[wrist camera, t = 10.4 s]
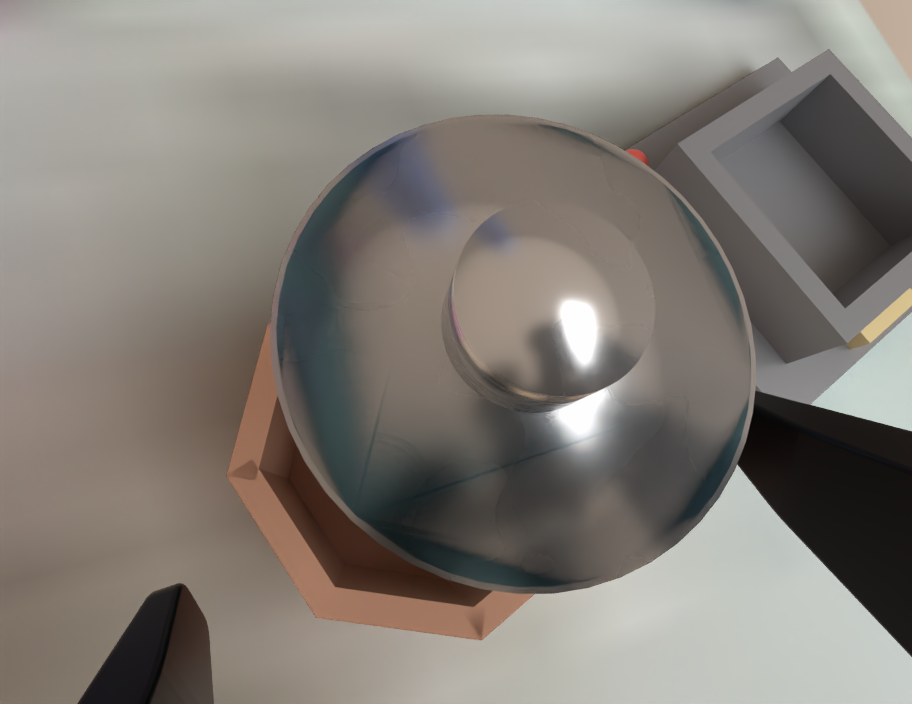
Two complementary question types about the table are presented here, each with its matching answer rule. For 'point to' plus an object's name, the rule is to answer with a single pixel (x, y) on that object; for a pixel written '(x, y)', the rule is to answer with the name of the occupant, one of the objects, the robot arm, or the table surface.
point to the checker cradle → (801, 213)
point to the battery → (513, 354)
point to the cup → (341, 537)
